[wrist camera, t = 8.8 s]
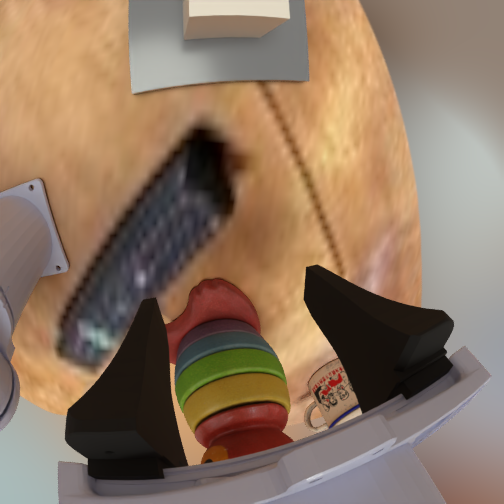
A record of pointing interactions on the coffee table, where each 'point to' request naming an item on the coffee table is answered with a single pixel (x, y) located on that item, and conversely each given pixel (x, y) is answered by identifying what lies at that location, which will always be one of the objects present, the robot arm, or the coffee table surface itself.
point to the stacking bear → (227, 374)
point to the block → (232, 18)
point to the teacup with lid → (332, 397)
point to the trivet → (210, 50)
